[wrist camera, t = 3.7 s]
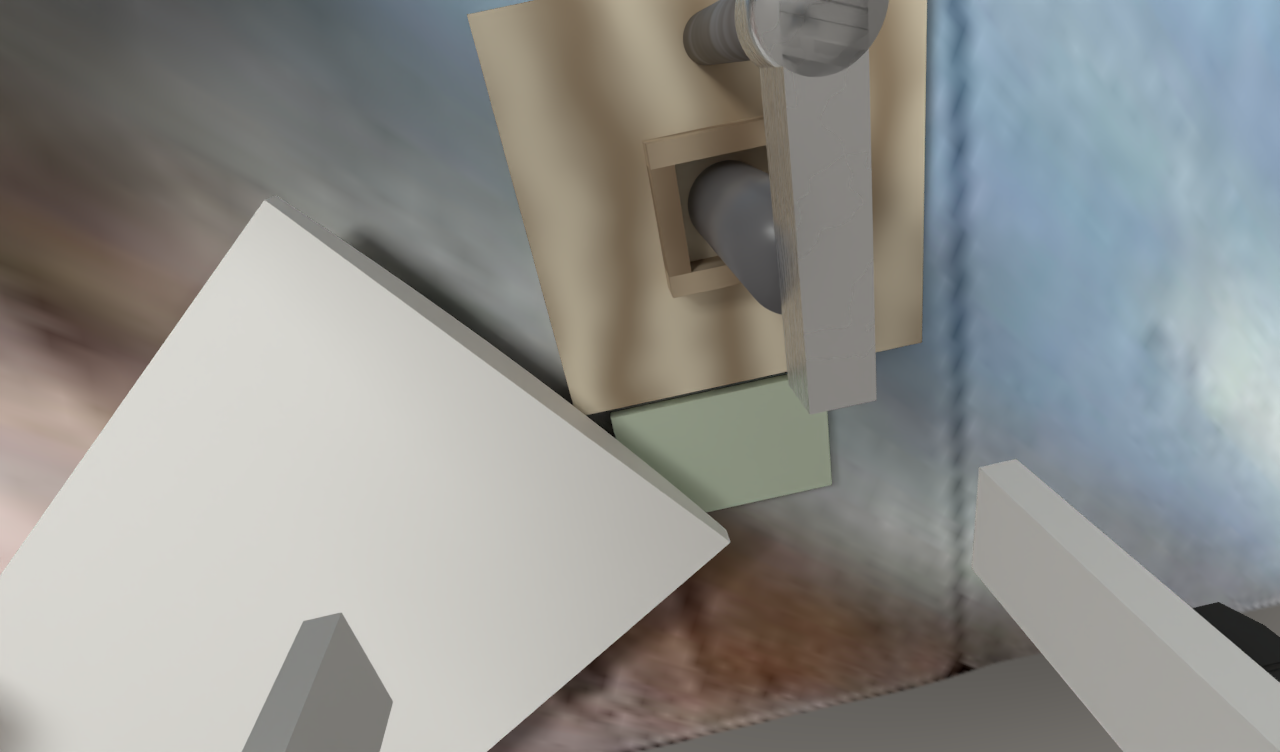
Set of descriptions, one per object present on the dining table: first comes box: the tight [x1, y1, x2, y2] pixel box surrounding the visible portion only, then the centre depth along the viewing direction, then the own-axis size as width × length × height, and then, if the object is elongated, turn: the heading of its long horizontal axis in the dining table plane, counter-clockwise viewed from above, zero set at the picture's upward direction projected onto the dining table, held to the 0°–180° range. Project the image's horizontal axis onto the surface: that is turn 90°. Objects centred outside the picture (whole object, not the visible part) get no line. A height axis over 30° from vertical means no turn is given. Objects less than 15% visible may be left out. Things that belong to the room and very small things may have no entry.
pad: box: [610, 374, 832, 512], centre depth 42 cm, size 14×9×1 cm, turn 101°
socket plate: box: [467, 0, 927, 415], centre depth 29 cm, size 22×22×14 cm
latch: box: [735, 0, 889, 415], centre depth 20 cm, size 4×14×2 cm, turn 11°
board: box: [0, 196, 730, 752], centre depth 42 cm, size 45×32×5 cm
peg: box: [688, 160, 782, 315], centre depth 28 cm, size 4×4×12 cm
